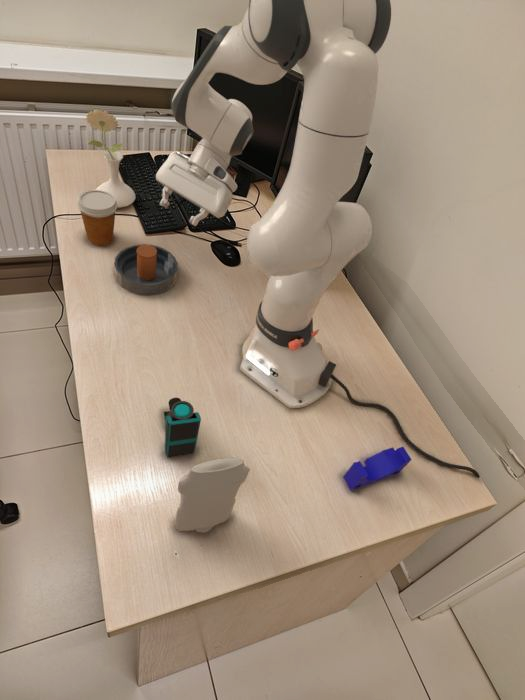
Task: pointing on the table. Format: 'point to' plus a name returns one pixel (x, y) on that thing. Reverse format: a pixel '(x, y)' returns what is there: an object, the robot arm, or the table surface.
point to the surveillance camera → (181, 428)
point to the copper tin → (146, 262)
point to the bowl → (131, 282)
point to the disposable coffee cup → (98, 215)
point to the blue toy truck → (377, 467)
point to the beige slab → (209, 493)
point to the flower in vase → (111, 159)
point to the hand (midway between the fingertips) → (177, 215)
